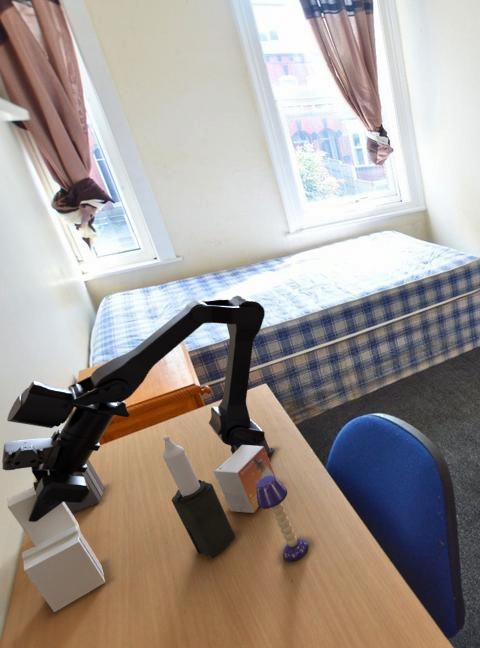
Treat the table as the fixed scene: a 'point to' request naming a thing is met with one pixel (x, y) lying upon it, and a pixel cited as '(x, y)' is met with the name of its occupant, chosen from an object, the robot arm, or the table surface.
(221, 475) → the small box
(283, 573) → the table surface
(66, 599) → the white books
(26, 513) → the white tall block
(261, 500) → the toy lamp
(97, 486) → the grey books
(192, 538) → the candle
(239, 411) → the robot arm
